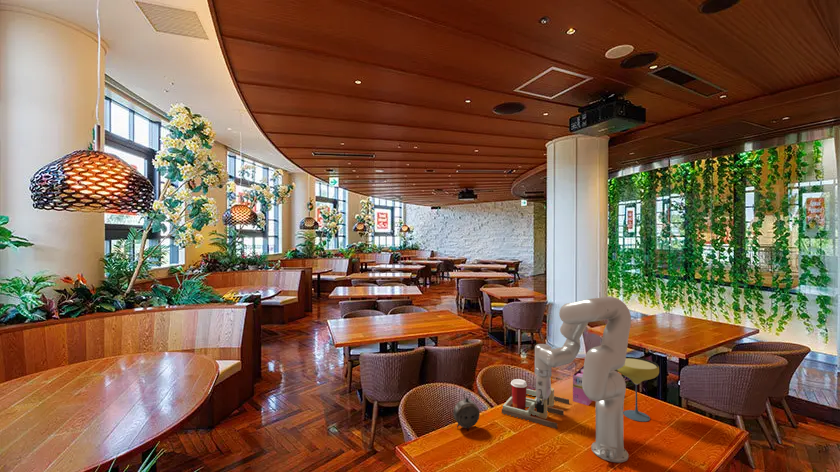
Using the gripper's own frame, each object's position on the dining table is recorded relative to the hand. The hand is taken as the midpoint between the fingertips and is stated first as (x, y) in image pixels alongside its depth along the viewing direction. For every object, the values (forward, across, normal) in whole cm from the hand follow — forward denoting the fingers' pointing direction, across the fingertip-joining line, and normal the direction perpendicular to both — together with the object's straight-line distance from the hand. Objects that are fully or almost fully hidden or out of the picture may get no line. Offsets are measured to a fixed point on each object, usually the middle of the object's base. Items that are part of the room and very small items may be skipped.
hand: (542, 408), depth 165 cm
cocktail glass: (+4, +25, -37) cm, 45 cm away
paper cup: (+4, 0, +11) cm, 12 cm away
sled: (+4, 0, +8) cm, 9 cm away
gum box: (+4, +36, -14) cm, 39 cm away
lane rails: (+4, +7, +5) cm, 9 cm away
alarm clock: (+4, -29, +25) cm, 39 cm away
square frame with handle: (+4, +14, +8) cm, 16 cm away
